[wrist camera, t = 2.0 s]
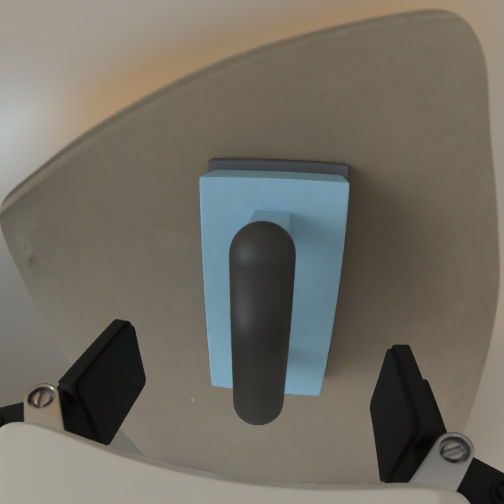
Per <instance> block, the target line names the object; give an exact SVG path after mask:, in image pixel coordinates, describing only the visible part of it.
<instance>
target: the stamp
mask: <svg viewBox="0 0 504 504" xmlns="http://www.w3.org/2000/svg"><path fill="white" fill-rule="evenodd" d="M208 163H209V173H207V174H205V175H203V176H201V177H200V211H201V236H202V257H203V276H204V293H205V308H206V322H207V335H208V347H209V359H210V370H211V381H212V385H213V386H218V387H226V388H233V404H234V409H235V411H236V413H237V415H238V416H239V417H240V418H241V419H242V420H243V421H245V422H247V423H249V424H252V425H264V424H268V423H270V422H272V421H273V420H274V419H276V418H277V417H278V415H279V414H280V412H281V410H282V407H283V401H284V394H296V395H313V396H320V394H321V389H322V384H323V379H324V374H325V369H326V364H327V358H328V353H329V347H330V342H331V336H332V330H333V324H334V318H335V311H336V305H337V298H338V291H339V284H340V276H341V268H342V260H343V252H344V243H345V233H346V223H347V213H348V201H349V188H350V184H349V182H348V177H349V166H348V165H347V164H345V163H332V162H318V161H300V160H279V159H241V158H214V159H211V160H209V161H208Z"/></svg>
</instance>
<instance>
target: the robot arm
mask: <svg viewBox="0 0 504 504" xmlns="http://www.w3.org/2000/svg"><path fill="white" fill-rule="evenodd" d="M145 382H146V377H145V373H144V369H143V364H142V360H141V355H140V351H139V346H138V342H137V337H136V332H135V328H134V326H132V325H131V323H130V322H129V321H124V320H119V319H115V320H114V321H113V322H112V323H111V324H110V325H109V326H108V327H107V328H106V329H105V330H104V331H103V332H102V334H101V335H100V336H99V337H98V338H97V339H96V340H95V341H94V342H93V343H92V344H91V346H90V347H89V348H88V349H87V350H86V351H85V352H84V353H83V354H82V356H81V357H80V358H79V359H78V360H77V361H76V362H75V363H74V364H73V366H72V367H71V368H70V369H69V370H68V371H67V372H66V374H65V375H64V376H63V377H62V378H61V379H60V380H59V385H58V387H57V388H56V387H55V386H53V385H51V384H47V383H43V384H38V385H35V386H33V387H31V388H30V389H29V390H28V391H27V392H26V394H25V396H24V402H22V403H18V404H14V405H9V406H5V407H1V408H0V504H504V473H503V472H501V471H499V470H497V469H495V468H493V467H491V466H489V465H487V464H485V463H483V462H482V461H480V460H478V459H476V458H474V457H473V456H474V446H473V444H472V442H471V440H470V439H469V438H468V437H466V436H465V435H463V434H460V433H457V432H449V433H447V431H446V428H445V425H444V423H443V420H442V417H441V414H440V411H439V409H438V406H437V403H436V400H435V398H434V395H433V393H432V390H431V387H430V385H429V383H428V381H427V380H426V379H423V378H422V376H421V373H420V371H419V368H418V366H417V363H416V361H415V358H414V356H413V353H412V351H411V348H410V346H409V345H393V346H392V348H391V349H388V350H387V352H386V355H385V358H384V362H383V365H382V368H381V372H380V375H379V378H378V381H377V384H376V387H375V390H374V393H373V396H372V399H371V403H370V412H371V418H372V424H373V431H374V438H375V445H376V452H377V459H378V467H379V476H380V481H381V482H385V483H371V484H310V483H291V482H278V481H267V480H258V479H249V478H242V477H234V476H228V475H222V474H216V473H210V472H205V471H200V470H195V469H190V468H185V467H181V466H176V465H172V464H168V463H164V462H160V461H156V460H153V459H149V458H145V457H142V456H138V455H135V454H132V453H128V452H125V451H122V450H119V449H115V448H113V447H110V446H107V445H109V444H110V443H111V441H112V439H113V438H114V436H115V434H116V433H117V431H118V429H119V428H120V426H121V424H122V423H123V421H124V419H125V417H126V416H127V414H128V412H129V411H130V409H131V407H132V406H133V404H134V402H135V401H136V399H137V397H138V396H139V394H140V392H141V391H142V389H143V387H144V385H145Z"/></svg>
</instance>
